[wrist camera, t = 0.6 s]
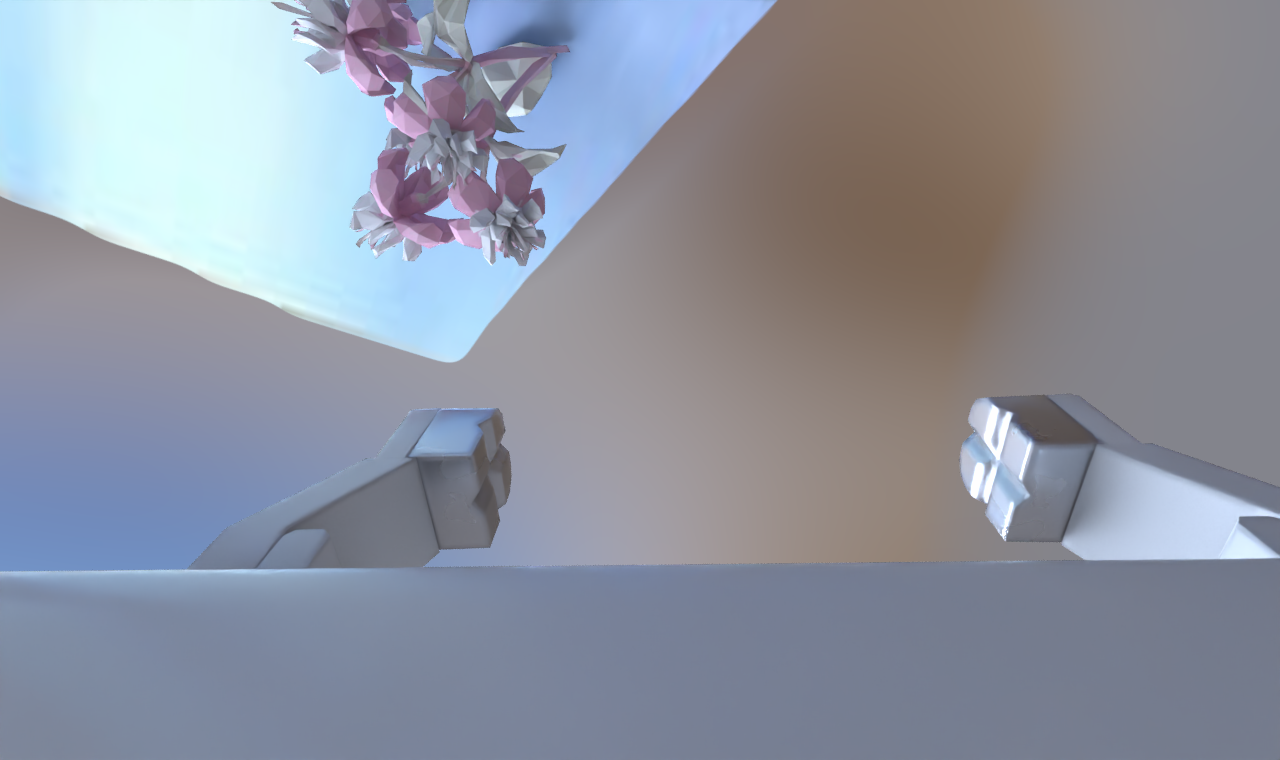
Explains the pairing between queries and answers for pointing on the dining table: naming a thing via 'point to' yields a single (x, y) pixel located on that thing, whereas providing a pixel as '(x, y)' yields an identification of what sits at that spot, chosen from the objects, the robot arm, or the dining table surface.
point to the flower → (439, 125)
